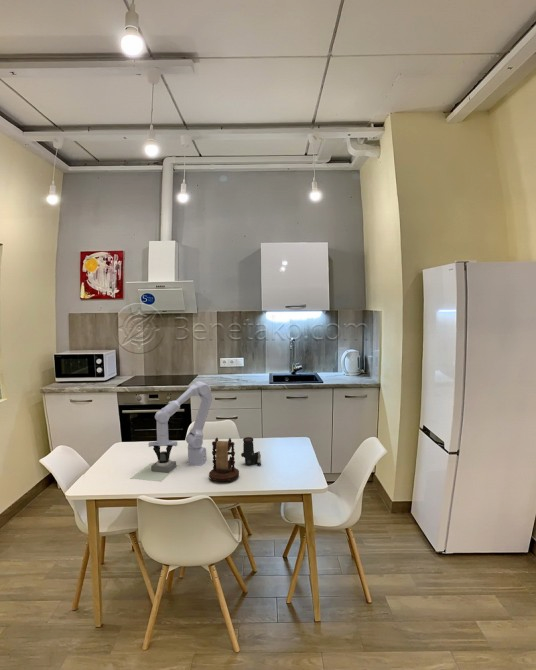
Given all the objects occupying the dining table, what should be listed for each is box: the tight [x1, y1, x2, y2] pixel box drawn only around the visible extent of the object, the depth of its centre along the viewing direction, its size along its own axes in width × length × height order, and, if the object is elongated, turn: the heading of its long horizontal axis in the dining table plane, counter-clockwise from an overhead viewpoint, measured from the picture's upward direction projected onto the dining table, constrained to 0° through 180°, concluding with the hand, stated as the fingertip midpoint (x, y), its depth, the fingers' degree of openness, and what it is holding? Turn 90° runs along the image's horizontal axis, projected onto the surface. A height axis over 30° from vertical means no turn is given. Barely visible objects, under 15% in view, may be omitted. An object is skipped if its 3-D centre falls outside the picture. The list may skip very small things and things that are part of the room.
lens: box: [159, 450, 168, 463], centre depth 215 cm, size 4×4×6 cm
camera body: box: [151, 458, 177, 473], centre depth 215 cm, size 10×8×4 cm
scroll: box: [208, 437, 240, 483], centre depth 204 cm, size 15×15×20 cm
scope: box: [240, 436, 262, 466], centre depth 221 cm, size 8×14×10 cm
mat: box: [129, 462, 180, 483], centre depth 212 cm, size 17×20×1 cm
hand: (163, 459), depth 215 cm, fingers closed on lens, 4 cm apart
